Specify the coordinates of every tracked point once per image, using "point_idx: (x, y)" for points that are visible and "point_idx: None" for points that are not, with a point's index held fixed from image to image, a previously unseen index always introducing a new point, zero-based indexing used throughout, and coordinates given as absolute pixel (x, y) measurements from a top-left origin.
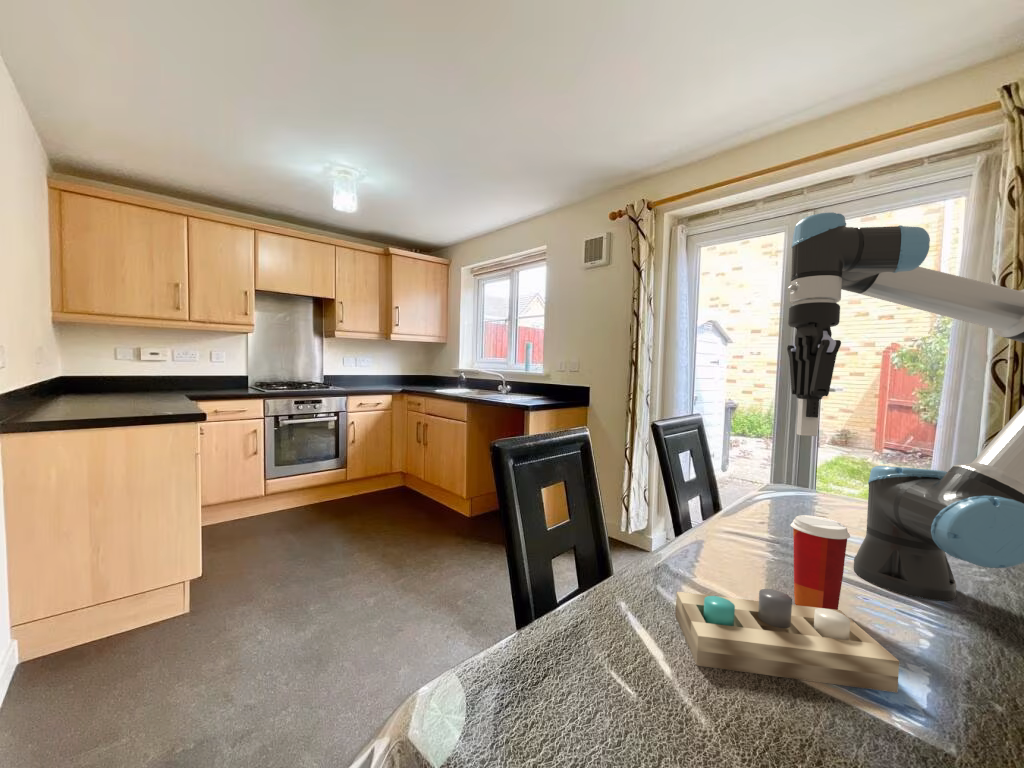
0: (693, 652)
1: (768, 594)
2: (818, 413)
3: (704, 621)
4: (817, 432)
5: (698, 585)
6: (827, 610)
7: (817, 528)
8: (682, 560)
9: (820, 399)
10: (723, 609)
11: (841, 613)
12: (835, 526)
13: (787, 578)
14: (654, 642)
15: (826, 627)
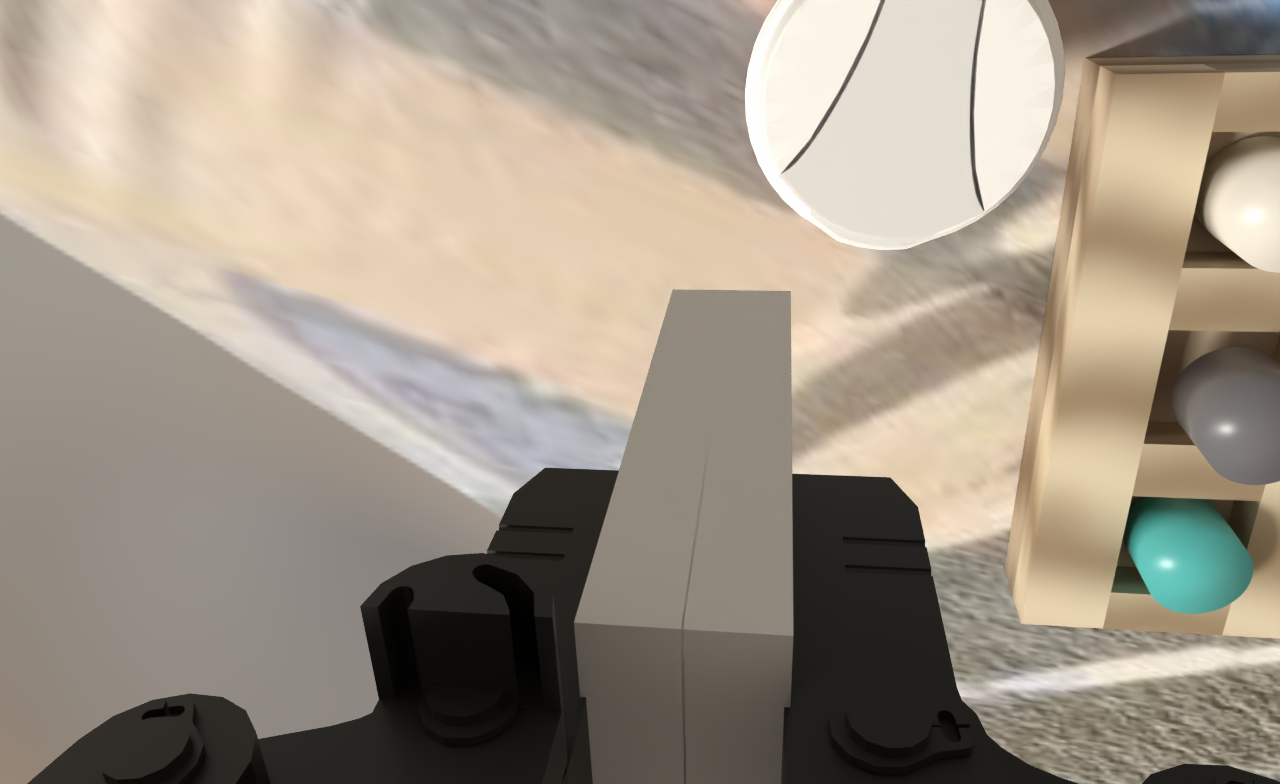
0: None
1: (1255, 458)
2: (785, 451)
3: None
4: (790, 311)
5: None
6: (1250, 211)
7: (1019, 180)
8: (527, 432)
9: (892, 669)
10: (1248, 578)
11: (1147, 86)
12: (988, 46)
13: (574, 19)
14: (1156, 654)
15: None
